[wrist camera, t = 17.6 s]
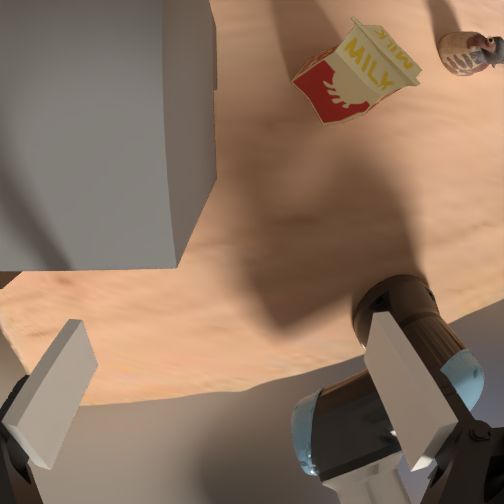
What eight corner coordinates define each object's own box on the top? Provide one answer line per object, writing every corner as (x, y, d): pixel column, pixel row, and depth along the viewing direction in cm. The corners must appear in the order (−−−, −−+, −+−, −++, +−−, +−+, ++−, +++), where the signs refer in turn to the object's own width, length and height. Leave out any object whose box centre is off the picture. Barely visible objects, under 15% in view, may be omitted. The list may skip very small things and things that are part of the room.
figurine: (468, 83, 36) (519, 81, 25) (435, 65, 36) (484, 56, 25) (472, 46, 34) (520, 38, 23) (439, 27, 33) (485, 11, 22)
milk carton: (376, 94, 38) (463, 83, 19) (324, 128, 40) (388, 134, 21) (337, 40, 35) (404, -10, 17) (283, 73, 37) (318, 33, 18)
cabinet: (220, 183, 42) (181, 300, 15) (44, 198, 42) (-101, 287, 14) (216, 27, 34) (174, -117, 6) (35, 64, 34) (-121, 53, 6)
